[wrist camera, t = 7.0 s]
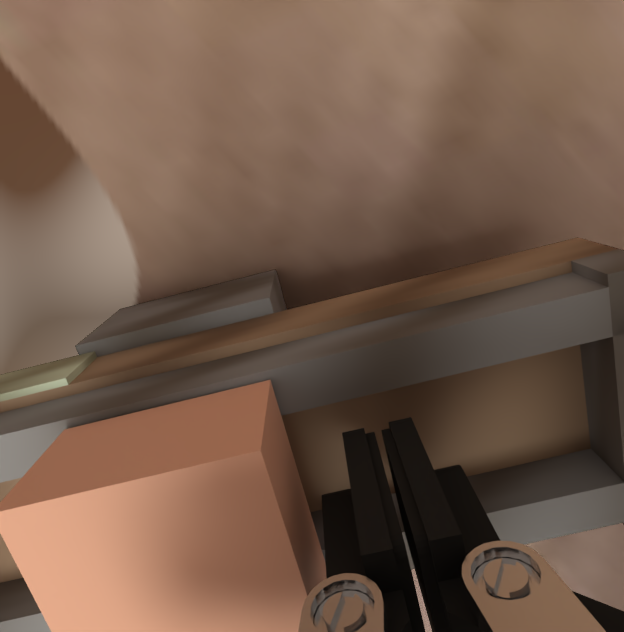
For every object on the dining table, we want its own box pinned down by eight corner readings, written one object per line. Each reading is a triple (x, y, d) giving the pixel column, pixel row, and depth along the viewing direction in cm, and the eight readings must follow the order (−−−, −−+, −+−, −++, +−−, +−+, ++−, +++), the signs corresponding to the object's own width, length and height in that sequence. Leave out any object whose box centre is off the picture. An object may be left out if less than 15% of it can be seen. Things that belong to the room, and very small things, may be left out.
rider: (273, 354, 13) (260, 449, 9) (328, 540, 15) (340, 697, 11) (91, 399, 14) (-10, 513, 9) (165, 576, 15) (110, 745, 11)
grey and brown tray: (518, 207, 18) (660, 238, 11) (544, 404, 21) (676, 536, 13) (-104, 365, 20) (-342, 486, 12) (-15, 534, 22) (-171, 720, 15)
